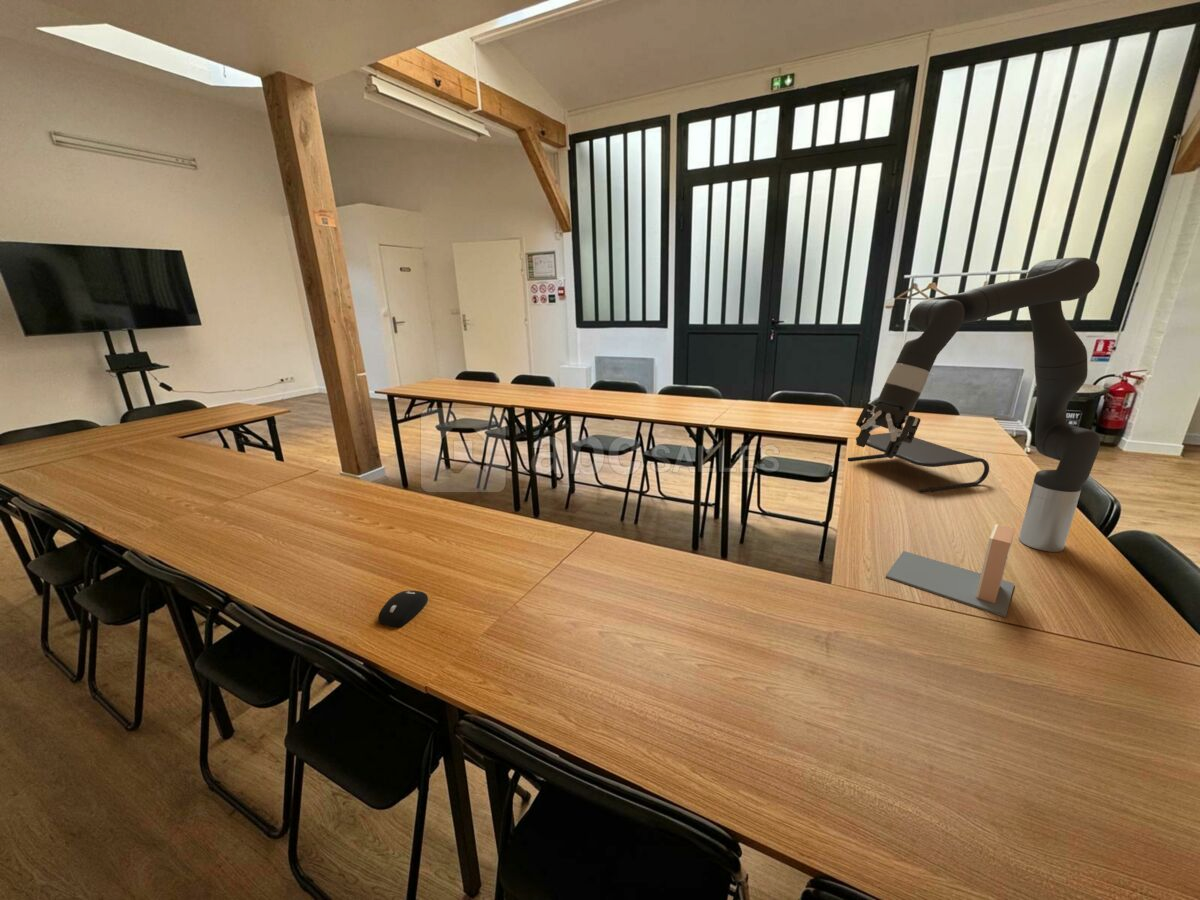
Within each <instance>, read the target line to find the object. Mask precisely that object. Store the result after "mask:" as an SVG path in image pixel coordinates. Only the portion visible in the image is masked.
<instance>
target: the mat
mask: <svg viewBox="0 0 1200 900" xmlns="http://www.w3.org/2000/svg"><path fill="white" fill-rule="evenodd" d="M980 576H981V572H978V571H973V570H972V569H971V570H970V569H966V568H964V567H960V566H956V565H953V564H950V563H947V562H943V561H940V560H936V559H933V558H929V557H925V556H922V555H920V554H916V553H912V552H910V551H905V550H902V552H901V554H900V555H899V556H898V557H897V558H896V560H895V562H894V563H893V565H892V566H891V568H890V569H889V570H888V572H887V573H886V574H885V578H887V579H889V580H893V581H896V582H898V583H902V584H904V585H908V586H911V587H914V588H916V589H920V590H922V591H926V592H929V593H932V594H935V595H938V596H941V597H943V598H947V599H950V600H952V601H956V602H958V603H962V604H965V605H968V606H969V607H974V608H977V609H979V610H983V611H986V612H988V613H991V614H995V615H999V616H1001V617H1004V618H1006V616H1007V612H1008V609H1009V605H1010V602H1011V598H1012V594H1013V590H1014V588H1015V587H1014V586H1015V583H1014V582H1011V581H1009V580H1008V581H1007V580H1004V579H1002V582H1001V586H1000V589H999V592H998V595H997V599H996V602H995V603H992V602H989V601H986V600H983V599H979V598H976V597H975V596H976V592H977V588H978V584H979V580H980Z"/></svg>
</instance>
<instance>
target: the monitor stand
mask: <svg viewBox="0 0 1200 900" xmlns="http://www.w3.org/2000/svg"><path fill="white" fill-rule="evenodd" d="M907 436H908V435H907ZM857 438H858V436H857V437H855V440H856V441H857ZM856 441H855V442H856ZM890 441H892V439H891V433H890V432H884V433H883V432H882V433H874V434H870V436H869V439H868V441H867V443H866V445H865V447H866V446H867V447H869V448H872V449H874V450H877V451H880V452H882V453H879V454H872V455H871V454H869V455H863V456H862V455H861V456H853V457H848V458H847V461H848V462H851V461H862V460H869V459H870V460H871V459H881V458H886V457H885V456H884V453H885V451H886V449H887V447H888V444H889V442H890ZM894 457H896V458H898V459H899V460H903V461H905V462H908V463H911V464H913V465H916V466H920V467H921V466H922V467H926V468H939V467H946V466H947V467H948V466H954V465H955V466H956V465H962V464H973V463H979V462H980V463H982V465H983V472H982V474H981V476H980V477H979V478H978V479H976V480H975V481H972V482H965V483H964V482H963V483H955V484H949V485H942V486H941V485H940V486H932V487H924V488H919V489H918V490H917V491H918V493H921V494H923V493H928V492H931V493H933V492H936V491H945V490H951V489H952V490H954V489H961V488H969V487H974V486H977V485H980V484H981V483H982V482H983V481H985V479H987V477H988V475H989V473H990V465H989V462H988V461H987V460H986V459H985V458H981V457H977V456H974V455H970V454H968V453H965V452H961V451H958V450H956V449H952V448H949V447H946V446H942V445H940V444H936V443H933V442H930V441H927V440H924V439H921V438H918V437H916V436H914V438H913V440H912V442H911V443H902V444H901V445H900V447H899V449H898V451H897V454H896V455H895V456H894Z"/></svg>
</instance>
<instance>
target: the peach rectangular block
mask: <svg viewBox="0 0 1200 900" xmlns="http://www.w3.org/2000/svg"><path fill="white" fill-rule="evenodd" d="M1015 531H1016V528H1015V527H1010V526H1006V525H1001V524H997V523H995V524H994V527H993V529H992V532H991V534H990V536H989V538H988V544H987V548H986V551H985V555H984V560H983V563H982V564H983V565H982V568H981V572H980V573H981V576H980V580H979V584H978V588H977V592H976V596H975V597H976V598H979V599H983V600H986V601H989V602H992V603H995V602H996V599H997V595H998V592H999V589H1000V586H1001V582H1002V580H1003V577H1004V574H1005V569H1006V566H1007V561H1008V558H1009V553H1010V550H1011V546H1012V543H1013V539H1014V535H1015Z"/></svg>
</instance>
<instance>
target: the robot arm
mask: <svg viewBox="0 0 1200 900" xmlns="http://www.w3.org/2000/svg"><path fill="white" fill-rule="evenodd" d="M1100 273H1101V272H1100V267H1099V265H1098V263H1097V262H1096V261H1095V260H1093V259H1092V258H1088V257H1076V256H1075V257H1065V258H1056V259H1055V258H1054V259H1047V260H1041V261H1039V262H1037V263H1034V265H1033V266H1032V267H1031V268H1030V269H1029V271H1028V273H1027V275H1026V278H1020V279H1013V280H1007V281H1002V282H1001V281H1000V282H997V283H996V282H995V283H992V284H987V285H983V286H978V287H976V288H972V289H969V290H966V291H964V292H960V293H955V294H949V295H947V294H946V295H943V296H937V297H936V296H935V297H932V298H928V299H924V300H922V301H920V302H919V303H917V304H916V305H915V306H914V307H912V309H911V311H910V313H909V316H908V317H909V318H908V319H909V320H908V321H909V324H910V325H911V327H912V328H913V329H914V330H917V331H920V332H922V333H921V335H920V336H919V337H917V338H914V339H911V340H907V341H906V342H905V344H904V345H903V347H902V349H901V351H900V353H899V355H898V357H897V360H896V361H895V364H894V365H893V367H892V369H891V370H890V372H889V374H888V377H887V378H886V381H885V382H884V386H883V388H882V390H881V391H880V394H879V396H878V398H877V400H878V404H877V405H874V404H872V403H868V402H866V403H865V405H864V407H863V409H862V411H861V412H860V415H859V417H858V418H857V420H856V423H855V425H856V427H858V428H859V429H860V432H859V433H858V436H857V437H858V438H857V441H855V442H856V443H855V444H856V446H858V447H861V448H865V447H866V443H867V441H868V439H869V436H870V435H871V432H873V431H874V430H875V429H879V428H880V427H881V428H884V429H888V433H891V439H892V441H890V442H889V444H888V447H887V449H886V451H885V453H884V452H883V454H884V456H885V457H884V458H887V459H888V458H889V459H893V458H894V457H895V455H896V454H897V451H898V449H899V447H900V445H901V444H902V443H911V442H912V440H913V438H914V437H915V435H916V433H917V430H918V428H919V425H920V423H921V418H919V417H918V416H914V415H910V412H911V411H913V410H914V409H915V407H916V404H917V402H918V400H919V399H920V396H921V394H922V392H923V390H924V388H925V386H926V384H927V381H928V377H929V375H930V372H931V370H932V368H933V366H934V363H935V362H936V359H937V357H938V355H939V354H940V353H941V352H942V351H943V349H944V348H945V347H946V346H947V345H948V343H949V342H950V340H952V338H953V337H954V336H955V335H956V333H957V332H958V331H959V330H960V328H961V326H962V324H963V323H973V322H977V321H980V320H984V319H987V318H991V317H993V316H997V315H1001V314H1005V313H1009V312H1011V311H1015V310H1019V309H1023V308H1027V307H1028V309H1027V310H1028V314H1029V318H1030V323H1031V331H1032V339H1033V340H1032V341H1033V351H1034V353H1033V354H1034V356H1033V358H1034V360H1033V361H1034V362H1033V363H1034V375H1035V376H1034V377H1035V384H1036V385H1035V386H1036V419H1035V431H1034V445H1035V448H1036V451H1037V452H1038V454H1041V455H1042V456H1044V457H1048V458H1050V459H1053V460H1056V461H1058V465H1057V467H1056V469H1041V470H1038V471H1037V472H1036V473H1035V474H1034V479H1033V482H1032V486H1031V489H1030V494H1029V497H1028V501H1027V505H1026V509H1025V513H1024V517H1023V520H1022V523H1021V528H1020V532H1019V535H1018V540H1019V542H1020V543H1022V545H1025V546H1027V547H1030V548H1033V549H1035V550H1040V551H1044V552H1051V553H1052V552H1053V553H1056V552H1057V553H1058V552H1062V551H1064V550H1065V545H1066V543H1067V539H1068V537H1069V533H1070V529H1071V526H1072V522H1073V519H1074V516H1075V512H1076V509H1077V506H1078V502H1079V500H1080V499H1079V498H1080V494H1081V492H1082V489H1083V486H1084V484H1085V483H1086V481H1087V480H1088V478H1089V477H1090V474H1091V472H1092V469H1093V466H1094V464H1095V461H1096V459H1097V457H1098V456H1097V455H1098V454H1099V450H1100V447H1101V438H1100V435H1099V434H1098V433H1097V432H1096V431H1094V430H1092V429H1089V428H1083V427H1080V426H1075V425H1070V424H1069V423H1068V419H1067V409H1068V405H1069V402H1070V401H1071V400H1072V399H1073V397H1074V396H1075V395H1076V394H1077V393H1078V391H1079V390H1080V389H1081V388H1082V387H1083V385H1084V384H1085V382H1086V381H1087V378H1088V372H1089V371H1088V350H1087V348H1086V346H1085V344H1084V342H1083V341H1082V339H1081V338H1080V336H1079V335H1078V334H1077V333H1076V332H1075V330H1074V329H1073V328H1072V327H1071V326H1070V324H1069V323H1068V321H1067V319H1066V317H1065V316H1064V312H1063V307H1062V305H1063V304H1062V302H1068V301H1074V300H1078V299H1081V298H1083V297H1085V296H1086V295H1087V296H1088V294H1089V293H1091V292H1092V291H1093V289H1094V288H1095V287H1096V285H1097V284H1098V282H1099V279H1100ZM907 435H908V436H907Z"/></svg>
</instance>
